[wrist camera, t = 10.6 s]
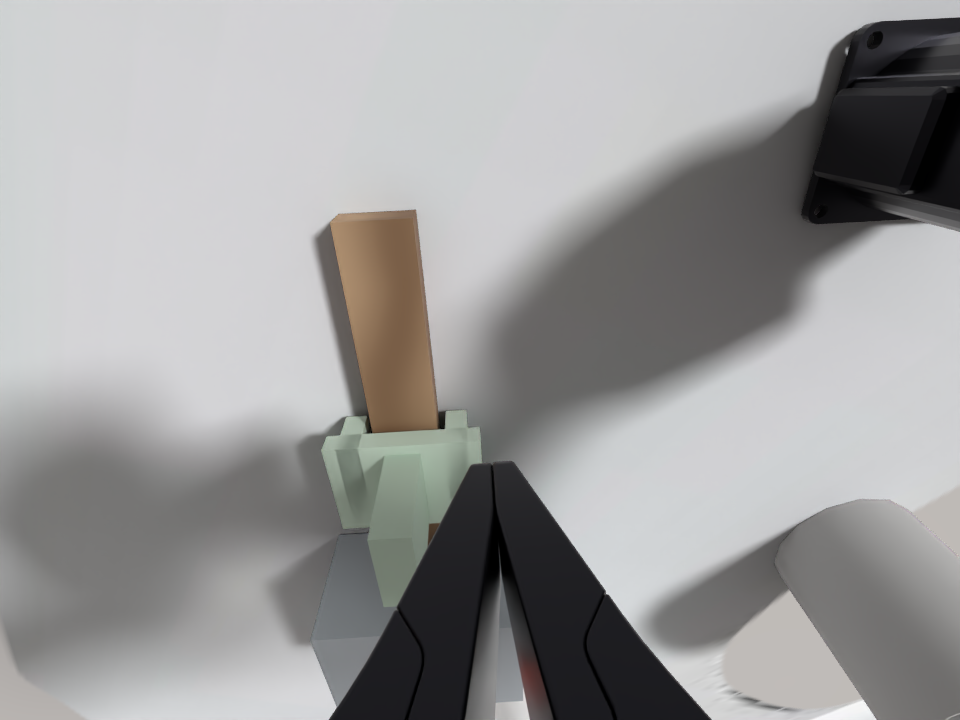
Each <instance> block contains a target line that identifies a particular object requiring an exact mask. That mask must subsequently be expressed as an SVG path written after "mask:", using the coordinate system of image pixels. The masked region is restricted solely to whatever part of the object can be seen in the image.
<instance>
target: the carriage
mask: <svg viewBox="0 0 960 720" xmlns="http://www.w3.org/2000/svg"><path fill="white" fill-rule="evenodd" d="M321 452H322V456H323V459H324V463H325V466H326V470H327V473H328V477H329V481H330V484H331V488H332V491H333V495H334V498H335V502H336V506H337V509H338V513H339V516H340V520H341V523H342V527H343V529H352V528H367V527H370V529H369V534H368V539H367V541H368V546H369V550H370V554H371V558H372V562H373V566H374V570H375V574H376V578H377V582H378V586H379V590H380V594H381V598H382V602H383V606H384V607H395V606H397V605H398V603H399V601H400V599H401V597H402V595H403V593H404V591H405V589H406V587H407V585H408V583H409V582H410V580H411V578H412V576H413V574H414V572H415V570H416V568H417V566H418V564H419V562H420V560H421V559H422V557H423V555H424V553H425V551H426V549H427V546H428V531H429V524H431V523H440V522H441V520H442V518H443V516H444V515H445V513H446V511H447V509H448V507H449V505H450V503H451V501H452V499H453V497H454V495H455V493H456V492H457V490H458V488H459V486H460V484H461V482H462V480H463V478H464V476H465V474H466V472H467V470H468V469H469V467H470V466H471V465H472V464H477V463H482V453H481V436H480V427H471V428H468V425H467V411H466V410H454V411H446V418H445V429H438V430H421V431H405V432H388V433H372V434H371V432H370V427H369V422H368V417H367V416H354V417H346V420H345V423H344V425H343V428H342V431H341V434H340V435H339V436H327V437H326V440H325V442H324V445H323V447H322V450H321Z"/></svg>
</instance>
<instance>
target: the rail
mask: <svg viewBox="0 0 960 720" xmlns="http://www.w3.org/2000/svg"><path fill="white" fill-rule="evenodd" d="M330 226H331V231H332V236H333V241H334V246H335V251H336V256H337V261H338V265H339V270H340V275H341V280H342V285H343V290H344V295H345V300H346V305H347V310H348V315H349V320H350V325H351V330H352V334H353V339H354V344H355V349H356V354H357V359H358V364H359V369H360V374H361V379H362V384H363V389H364V394H365V399H366V403H367V408H368V413H369V418H370V423H371V428H372V433H388V432H405V431H421V430H438V429H440V424H439V415H438V405H437V396H436V387H435V378H434V369H433V360H432V351H431V342H430V333H429V324H428V315H427V305H426V296H425V287H424V278H423V269H422V260H421V251H420V242H419V233H418V224H417V215H416V210H405V211H387V212H368V213H350V214H338V215H337V216H336V217H335V218H334V219H333V220H332V221H331V222H330ZM439 524H440V523H431V524H429V531H428V545H429V543H430V541H431V539H432V538H433V536H434V534H435V532H436V530H437V528H438V526H439ZM427 547H428V546H427Z"/></svg>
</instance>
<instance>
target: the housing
mask: <svg viewBox="0 0 960 720" xmlns="http://www.w3.org/2000/svg"><path fill="white" fill-rule="evenodd" d="M368 534H369V533H362V534H346V535H339V537H338V541H337V544H336V548H335V552H334V555H333V559H332V563H331V566H330V570H329V574H328V577H327V581H326V585H325V588H324V592H323V596H322V599H321V603H320V607H319V610H318V614H317V618H316V621H315V625H314V629H313V632H312V636H311V640H310V641H311V644H312V646H313V649H314V651H315V654H316V656H317V659H318V661H319V664H320V666H321V669H322V671H323V674H324V676H325V679H326V681H327V684H328V686H329V689H330V691H331V694H332V696H333V699H334V701H335V704H336V706H337V707H338V705H339V704H340V702H341V701H342V699H343V698H344V696H345V695H346V693H347V691H348V690H349V688H350V687H351V685H352V684H353V682H354V680H355V679H356V677H357V676H358V674H359V672H360V671H361V669H362V668H363V666H364V665H365V663H366V661H367V660H368V658H369V656H370V654H371V652H372V651H373V649H374V647H375V645H376V643H377V642H378V640H379V638H380V636H381V635H382V633H383V631H384V629H385V627H386V625H387V623H388V621H389V619H390V618H391V616H392V614H393V612H394V611H395V610H397V608H396V607H397V606H395V607H384V606H383V602H382V598H381V594H380V590H379V586H378V582H377V578H376V574H375V570H374V566H373V562H372V558H371V554H370V550H369V546H368V541H367V539H368ZM499 557H500V555H499ZM500 573H501V566H500ZM516 701H523V683H522V678H521V673H520V668H519V663H518V658H517V653H516V648H515V643H514V638H513V633H512V628H511V623H510V618H509V613H508V608H507V603H506V598H505V593H504V588H503V582H502V575H501V591H500V614H499V637H498V661H497V684H496V703H501V702H516Z"/></svg>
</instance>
